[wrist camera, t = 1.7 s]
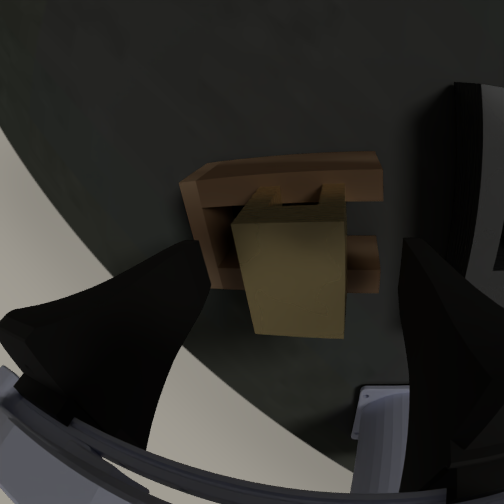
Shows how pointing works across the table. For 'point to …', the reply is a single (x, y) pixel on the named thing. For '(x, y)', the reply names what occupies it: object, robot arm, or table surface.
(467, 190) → the dark grey l-shaped block
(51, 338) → the robot arm
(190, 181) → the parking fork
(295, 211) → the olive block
